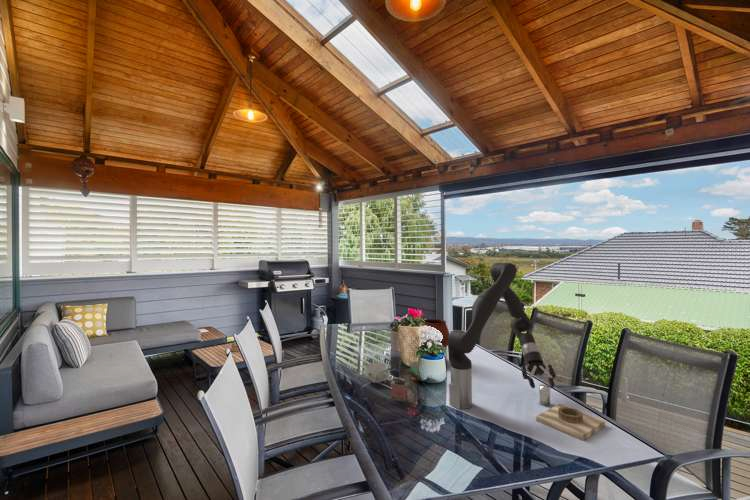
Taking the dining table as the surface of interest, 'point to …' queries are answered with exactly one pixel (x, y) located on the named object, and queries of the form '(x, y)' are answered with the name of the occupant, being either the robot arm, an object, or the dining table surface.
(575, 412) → the wooden board with ring
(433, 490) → the dining table surface
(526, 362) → the robot arm
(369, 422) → the dining table surface
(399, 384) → the lighter
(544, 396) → the roller
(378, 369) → the grey spiky lump
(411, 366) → the food container
